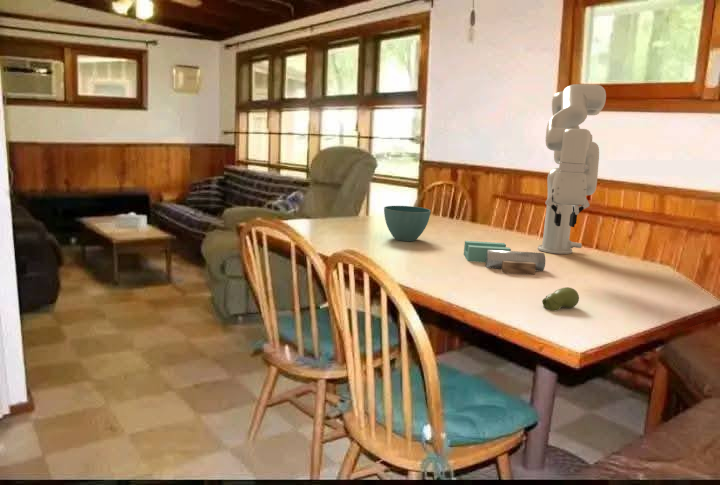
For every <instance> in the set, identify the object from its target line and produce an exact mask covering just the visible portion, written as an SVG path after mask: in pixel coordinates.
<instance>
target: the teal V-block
mask: <svg viewBox="0 0 720 485" xmlns="http://www.w3.org/2000/svg"><path fill="white" fill-rule="evenodd" d="M463 246H464V248H463V256H464V257H465V259H466V261H467V262H472V263H473V262H474V263H485V259H486V252H487V250H502V251H512V248H510V247H508V246H507V244H506V243H505V242H495V241H494V242H491V241H475V240H464V244H463Z"/></svg>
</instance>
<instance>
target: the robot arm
mask: <svg viewBox="0 0 720 485" xmlns="http://www.w3.org/2000/svg"><path fill="white" fill-rule="evenodd" d="M606 99H607V93H606V89H605V88H604V87H603V86H602V85H599V84H585V83H584V84H580V83H578V84H576V83H574V84H570V85H568V86H566V87H565V88H564V89H563V90H562V91H558V92H556V93H554V95H553V96H552V100H551V111H552V112H551V113H552V116H551V118H550V119H549V121H548V123H547V125H546V129H545V130H546V131H545V146H546V148H547V149H548V150H549V151H553V160H554V162H555V163H556V164H558V166H559V167H555V168H552V169H551V170H550V171H549V172H548V174H547V178H546V181H547V183H546V184H547V186H546V187H547V197H546V198H547V199H546V200H545V202H544V203H545V205H546V208H545V217H544V228H543V237H542V244H538V245H537V250H538V251H541V252H542V253H544V252H545V253H548V254H549V253H550V254H557V255H559V254H560V255H569V254H572V253H573V248H575V249H577V248H578V249H581V248H583V244H582V243H581V242H575V241H572V240H570V236H571V228H575V225H576V224H577V220H578V219H577V218H578V215H579V214H580V213H581V212H583V210H585V209H587V208H589V207H590V206H591V205H590V202H589V200H588V198H587V196H591V195H593V194H595V192H596V190H597V186H598V174H599V164H600V162H599V161H600V147H599V145H598V143H597V142H594V141H593V134H592V133H591V131H590V130H589V129H586V128H580V126H579V125H581V124H583V123H584V122H585V121H586V120H587V117H588V116H598V115H599V114H600V113H601V111H602V110H603V108H604V107H605V104H606Z"/></svg>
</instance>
